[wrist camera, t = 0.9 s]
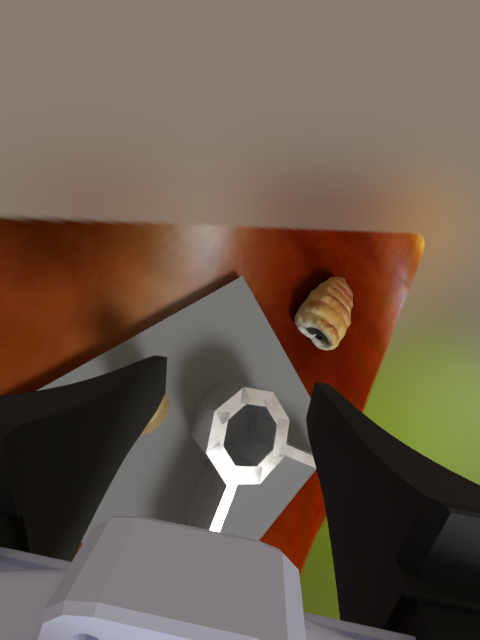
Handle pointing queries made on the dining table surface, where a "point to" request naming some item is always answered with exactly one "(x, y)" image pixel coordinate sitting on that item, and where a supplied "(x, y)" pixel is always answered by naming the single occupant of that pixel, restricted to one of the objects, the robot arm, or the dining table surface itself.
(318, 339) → the pastry
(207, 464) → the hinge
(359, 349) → the dining table surface
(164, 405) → the pin
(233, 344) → the mat
